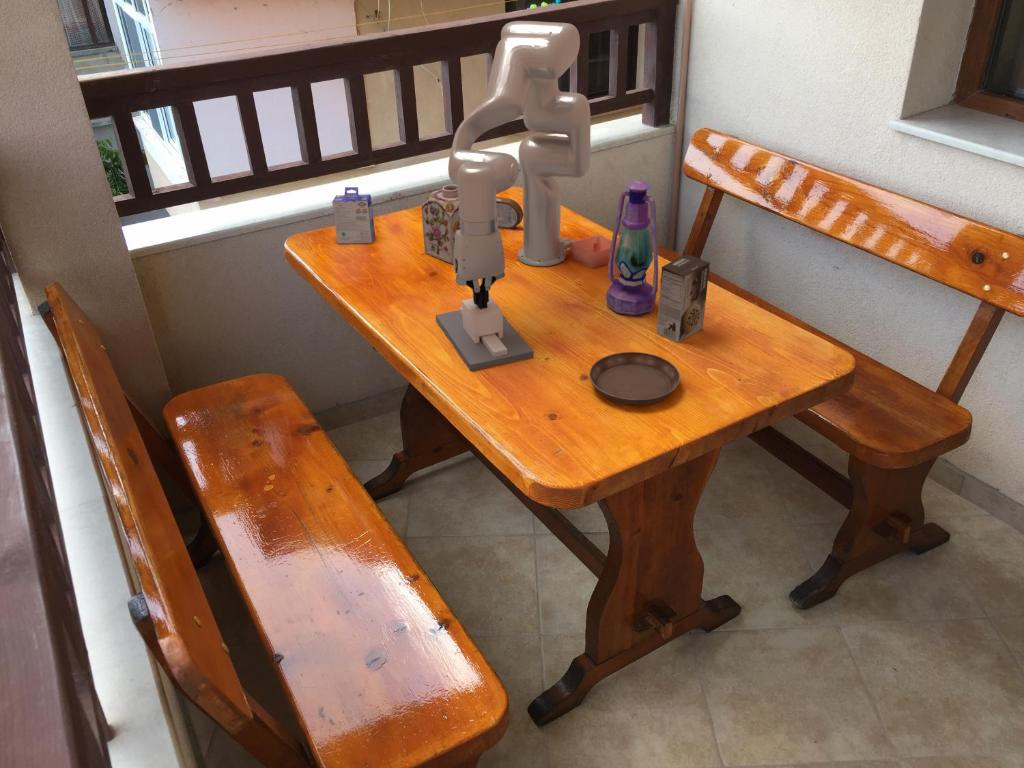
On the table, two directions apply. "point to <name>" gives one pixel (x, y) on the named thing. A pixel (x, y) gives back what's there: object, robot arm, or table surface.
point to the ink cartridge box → (353, 217)
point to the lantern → (634, 253)
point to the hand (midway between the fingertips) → (481, 305)
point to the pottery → (594, 252)
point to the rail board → (484, 343)
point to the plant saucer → (634, 378)
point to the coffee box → (682, 297)
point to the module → (482, 319)
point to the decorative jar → (441, 222)
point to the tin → (508, 212)
